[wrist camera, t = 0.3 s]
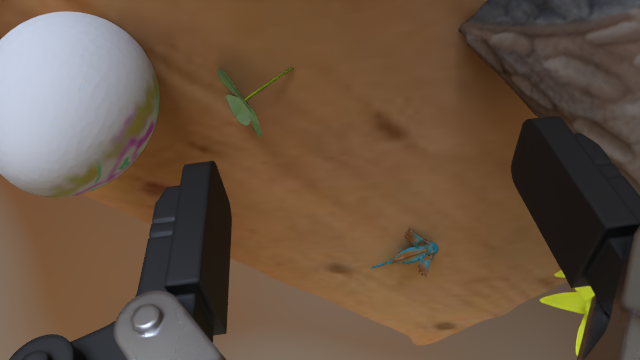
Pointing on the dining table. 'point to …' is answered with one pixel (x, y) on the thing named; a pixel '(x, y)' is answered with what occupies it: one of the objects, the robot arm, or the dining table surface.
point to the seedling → (243, 101)
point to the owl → (570, 66)
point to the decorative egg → (72, 103)
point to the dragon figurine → (416, 253)
